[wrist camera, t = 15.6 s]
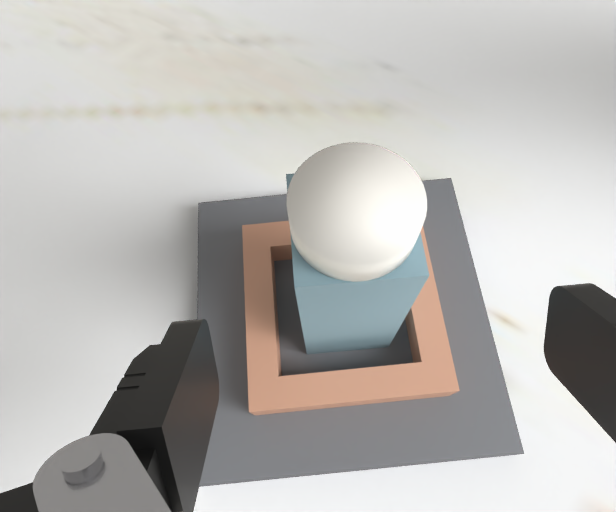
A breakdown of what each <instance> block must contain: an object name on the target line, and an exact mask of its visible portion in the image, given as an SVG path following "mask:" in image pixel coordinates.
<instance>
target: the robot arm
mask: <svg viewBox="0 0 616 512" xmlns="http://www.w3.org/2000/svg"><path fill="white" fill-rule="evenodd" d="M544 354H545V358H546V362H547V364H548V366H549V368H550V370H551V372H552V373H553V374H554V375H555V376H556V377H557V378H558V380H559V381H560V382H561V383H562V384H563V385H564V386H565V387H566V388H567V389H568V391H569V392H570V393H571V394H572V395H573V396H574V397H575V398H576V399H577V401H578V402H579V403H580V404H581V405H582V406H583V407H584V408H585V409H586V410H587V412H588V413H589V414H590V415H591V416H592V417H593V418H594V419H595V420H596V421H597V423H598V424H599V425H600V426H601V427H602V428H603V429H604V430H605V431H606V432H607V434H608V435H609V436H610V437H611V438H612V439H613V440H614V441H615V442H616V298H614V297H613V296H611V295H609V294H608V293H606V292H605V291H603V290H602V289H600V288H599V287H597V286H596V285H594V284H591V283H587V284H576V285H566V286H557V287H555V288H553V290H552V291H551V294H550V298H549V306H548V314H547V323H546V332H545V340H544ZM218 402H219V378H218V372H217V367H216V361H215V356H214V351H213V346H212V340H211V335H210V330H209V326H208V323H207V321H206V319H198V320H187V321H177V322H172V323H171V325H170V327H169V329H168V331H167V333H166V334H165V336H164V338H163V340H162V342H161V344H159V345H150V346H149V347H147V348H146V349H145V350H144V351H143V352H141V353H140V354H139V355H138V356H137V357H135V358H134V359H133V361H132V362H131V364H130V366H129V367H128V369H127V371H126V373H125V374H124V378H122V380H121V381H120V383H119V385H118V386H117V391H115V392H114V393H113V395H112V397H111V399H110V400H109V402H108V404H107V405H106V407H105V409H104V411H103V412H102V414H101V416H100V418H99V419H98V421H97V423H96V424H95V426H94V428H93V430H92V431H91V433H90V435H89V436H87V437H84V438H81V439H78V440H76V441H74V442H72V443H70V444H68V445H66V446H64V447H63V448H61V449H60V450H58V451H57V452H56V453H55V454H53V455H52V456H51V457H50V458H49V459H48V460H47V461H46V462H45V463H44V464H43V465H42V466H41V468H40V469H39V471H38V472H37V474H36V476H35V479H34V481H33V483H30V484H27V485H24V486H21V487H18V488H15V489H12V490H9V491H6V492H3V493H0V512H193V510H194V506H195V501H196V497H197V493H198V488H199V484H200V480H201V476H202V471H203V467H204V463H205V458H206V454H207V450H208V445H209V441H210V437H211V432H212V428H213V424H214V419H215V415H216V411H217V407H218Z"/></svg>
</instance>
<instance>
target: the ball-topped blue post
mask: <svg viewBox="0 0 616 512" xmlns="http://www.w3.org/2000/svg"><path fill="white" fill-rule="evenodd" d="M286 179H287V212H288V218H289V225H290V234H291V248H292V262H293V276H294V288H295V294H296V299H297V304H298V309H299V315H300V320H301V325H302V331H303V336H304V341H305V347H306V352H307V354H318V353H329V352H340V351H352V350H363V349H374V348H386V347H389V345H390V344H391V342H392V340H393V338H394V337H395V335H396V333H397V331H398V330H399V328H400V326H401V324H402V323H403V321H404V319H405V317H406V316H407V314H408V312H409V310H410V309H411V307H412V305H413V303H414V302H415V300H416V298H417V296H418V295H419V293H420V291H421V289H422V288H423V286H424V284H425V282H426V281H427V279H428V277H429V271H428V266H427V262H426V257H425V252H424V247H423V242H422V237H421V232H420V231H421V229H422V226H423V224H424V221H425V218H426V212H427V196H426V191H425V188H424V185H423V183H422V181H421V178H420V177H419V175H418V174H417V172H416V171H415V170H414V168H413V167H412V166H411V165H410V164H409V163H408V162H407V161H406V160H405V159H403V158H402V157H401V156H399V155H398V154H396V153H394V152H392V151H391V150H388V149H386V148H383V147H380V146H377V145H373V144H368V143H357V142H356V143H343V144H338V145H334V146H330V147H328V148H325V149H323V150H321V151H319V152H317V153H315V154H314V155H312V156H311V157H309V158H308V159H307V160H306V161H305V162H304V163H303V164H302V165H301V166H300V167H299V168H298V169H297V171H296V172H295V174H286Z"/></svg>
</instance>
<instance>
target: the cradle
mask: <svg viewBox="0 0 616 512" xmlns="http://www.w3.org/2000/svg"><path fill="white" fill-rule="evenodd" d="M422 183H423V185H424V188H425V191H426V196H427V212H426V218H425V221H424V224H423V226H422V229H421V231H420V232H421V237H422V242H423V247H424V252H425V257H426V262H427V266H428V271H429V277H428V279H427V281H426V282H425V284H424V286H423V288H422V289H421V291H420V293H419V295H418V296H417V298H416V300H415V302H414V303H413V305H412V307H411V309H410V310H409V312H408V314H407V316H406V317H405V319H404V321H403V323H402V324H401V326H400V328H399V330H398V331H397V333H396V335H395V337H394V338H393V340H392V342H391V344H390V345H389V347H386V348H374V349H363V350H352V351H340V352H329V353H318V354H307V352H306V347H305V341H304V336H303V331H302V325H301V320H300V315H299V309H298V304H297V299H296V294H295V288H294V276H293V262H292V248H291V234H290V225H289V218H288V212H287V194H284V195H274V196H264V197H254V198H244V199H234V200H223V201H213V202H203V203H199V215H198V319H206V321H207V323H208V326H209V330H210V335H211V340H212V346H213V351H214V356H215V361H216V367H217V372H218V378H219V402H218V407H217V411H216V415H215V419H214V424H213V428H212V432H211V437H210V441H209V445H208V450H207V454H206V458H205V463H204V467H203V471H202V476H201V480H200V484H199V487H200V486H210V485H220V484H230V483H240V482H250V481H260V480H269V479H279V478H289V477H299V476H309V475H319V474H329V473H339V472H349V471H358V470H368V469H378V468H388V467H398V466H408V465H418V464H428V463H438V462H447V461H457V460H467V459H477V458H487V457H497V456H507V455H517V454H524V451H523V448H522V444H521V440H520V436H519V433H518V429H517V425H516V421H515V417H514V414H513V410H512V406H511V402H510V399H509V395H508V391H507V387H506V384H505V380H504V376H503V372H502V368H501V365H500V361H499V357H498V353H497V350H496V346H495V342H494V338H493V335H492V331H491V327H490V323H489V319H488V316H487V312H486V308H485V304H484V301H483V297H482V293H481V289H480V285H479V282H478V278H477V274H476V270H475V267H474V263H473V259H472V255H471V252H470V248H469V244H468V240H467V236H466V233H465V229H464V225H463V221H462V218H461V214H460V210H459V206H458V202H457V199H456V195H455V191H454V187H453V184H452V180H451V178H446V179H436V180H426V181H422Z"/></svg>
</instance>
